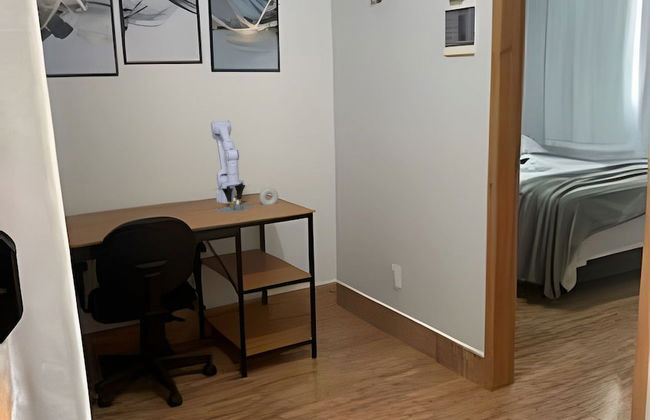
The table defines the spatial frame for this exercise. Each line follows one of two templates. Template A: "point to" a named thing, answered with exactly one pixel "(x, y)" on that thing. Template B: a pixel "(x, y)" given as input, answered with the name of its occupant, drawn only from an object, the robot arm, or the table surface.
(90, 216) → the table surface
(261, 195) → the donut
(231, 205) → the brass gear
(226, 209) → the gear board
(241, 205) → the fixed gear
